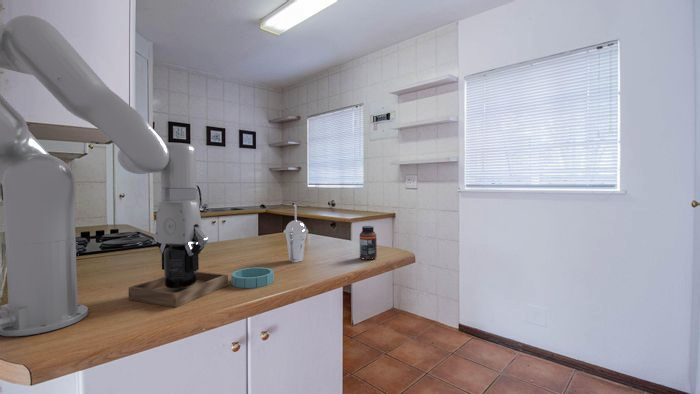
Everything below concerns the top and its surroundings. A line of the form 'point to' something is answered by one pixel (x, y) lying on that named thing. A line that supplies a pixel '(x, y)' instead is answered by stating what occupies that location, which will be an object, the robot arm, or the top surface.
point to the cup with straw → (296, 238)
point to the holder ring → (252, 277)
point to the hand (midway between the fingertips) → (180, 269)
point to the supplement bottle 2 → (368, 243)
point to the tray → (177, 290)
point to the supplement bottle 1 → (177, 267)
